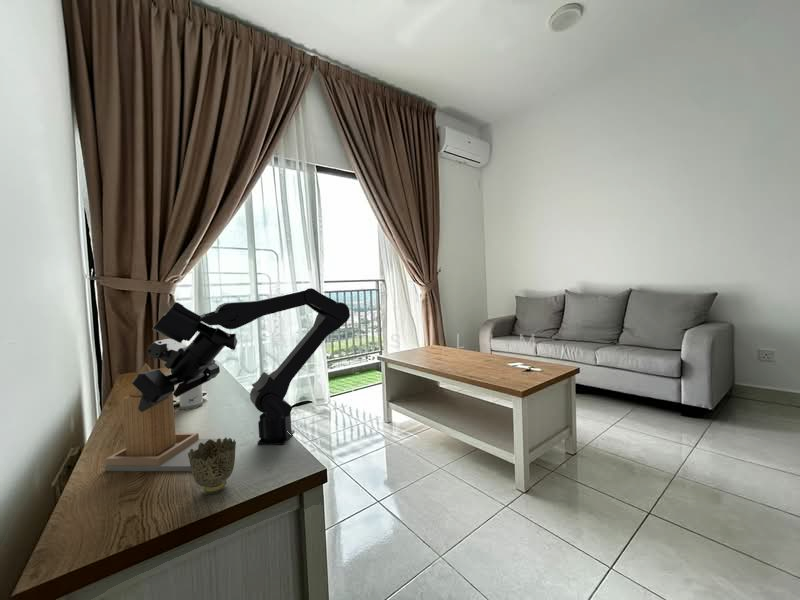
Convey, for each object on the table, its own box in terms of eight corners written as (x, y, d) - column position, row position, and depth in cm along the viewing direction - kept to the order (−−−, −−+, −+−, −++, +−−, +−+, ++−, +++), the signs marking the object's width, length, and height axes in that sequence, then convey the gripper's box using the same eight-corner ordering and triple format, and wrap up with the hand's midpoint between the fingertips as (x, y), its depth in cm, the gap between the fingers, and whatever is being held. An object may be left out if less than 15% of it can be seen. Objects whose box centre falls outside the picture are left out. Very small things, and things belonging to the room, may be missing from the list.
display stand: (232, 442, 77) (231, 432, 77) (196, 471, 65) (196, 458, 65) (153, 443, 79) (152, 433, 79) (105, 471, 67) (104, 459, 67)
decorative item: (124, 458, 70) (118, 366, 69) (150, 444, 76) (144, 359, 75) (153, 458, 69) (147, 365, 68) (177, 443, 76) (171, 358, 75)
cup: (217, 505, 54) (214, 458, 54) (180, 501, 56) (177, 455, 55) (247, 479, 62) (244, 437, 61) (213, 476, 63) (211, 436, 63)
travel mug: (196, 409, 101) (192, 345, 101) (175, 410, 101) (171, 346, 101) (208, 402, 108) (204, 342, 107) (188, 403, 108) (184, 343, 107)
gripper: (205, 321, 80) (166, 367, 82) (137, 332, 62) (89, 391, 63) (237, 352, 80) (198, 397, 81) (179, 372, 61) (130, 430, 63)
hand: (158, 402), depth 72 cm, fingers open, 9 cm apart
